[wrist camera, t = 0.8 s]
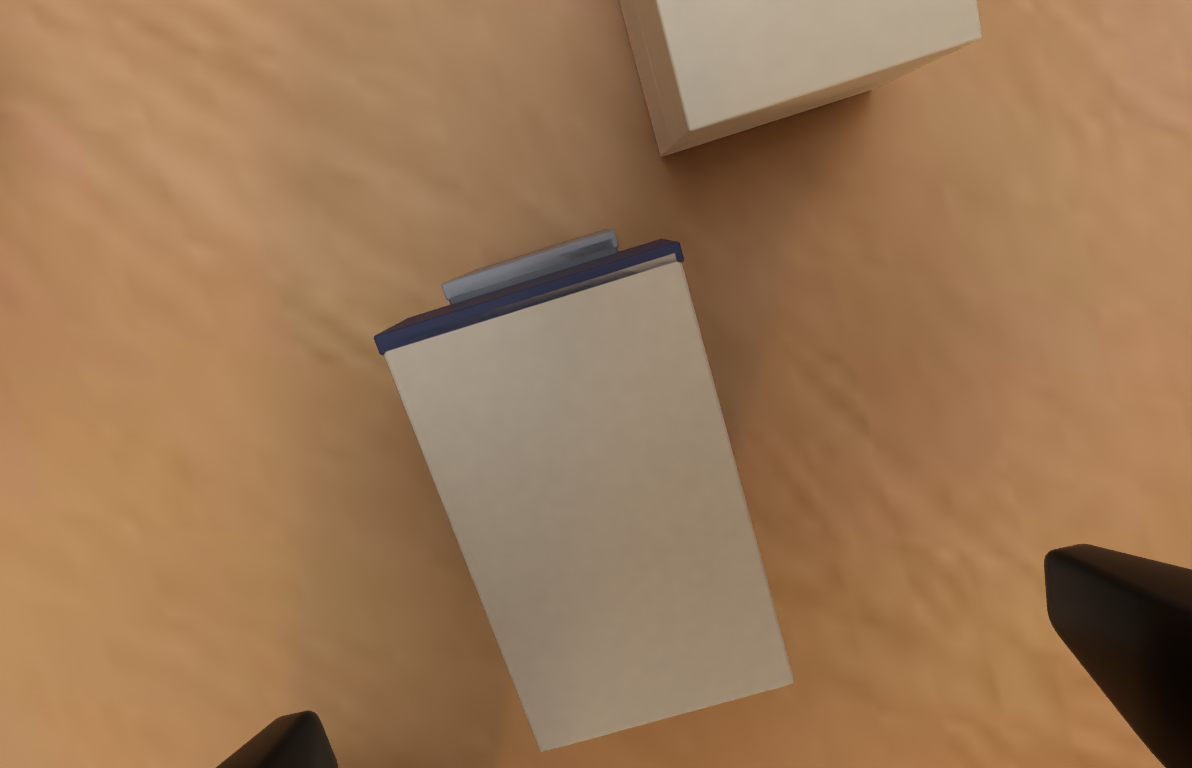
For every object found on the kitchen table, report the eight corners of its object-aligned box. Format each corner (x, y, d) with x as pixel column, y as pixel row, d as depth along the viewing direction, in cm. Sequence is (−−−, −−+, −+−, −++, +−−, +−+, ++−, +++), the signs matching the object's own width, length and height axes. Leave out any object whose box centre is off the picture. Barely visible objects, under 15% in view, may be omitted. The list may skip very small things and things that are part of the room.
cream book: (544, 680, 17) (538, 755, 15) (406, 318, 15) (372, 336, 12) (767, 618, 17) (798, 684, 14) (663, 238, 14) (679, 240, 12)
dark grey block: (585, 600, 21) (585, 685, 17) (470, 271, 18) (440, 284, 15) (706, 566, 21) (734, 644, 17) (607, 228, 18) (613, 229, 14)
